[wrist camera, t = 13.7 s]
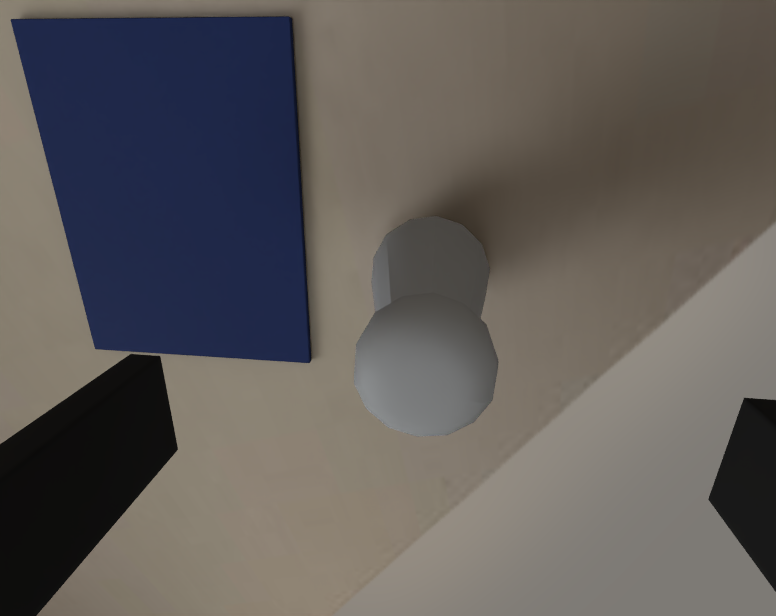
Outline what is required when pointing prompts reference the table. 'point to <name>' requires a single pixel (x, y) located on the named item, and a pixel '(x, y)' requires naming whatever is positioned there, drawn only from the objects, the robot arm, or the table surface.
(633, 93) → the table surface
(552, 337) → the table surface
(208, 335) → the cloth
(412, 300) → the salt shaker
